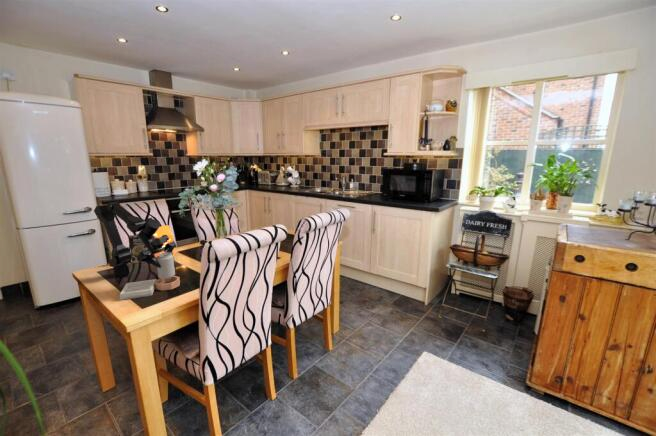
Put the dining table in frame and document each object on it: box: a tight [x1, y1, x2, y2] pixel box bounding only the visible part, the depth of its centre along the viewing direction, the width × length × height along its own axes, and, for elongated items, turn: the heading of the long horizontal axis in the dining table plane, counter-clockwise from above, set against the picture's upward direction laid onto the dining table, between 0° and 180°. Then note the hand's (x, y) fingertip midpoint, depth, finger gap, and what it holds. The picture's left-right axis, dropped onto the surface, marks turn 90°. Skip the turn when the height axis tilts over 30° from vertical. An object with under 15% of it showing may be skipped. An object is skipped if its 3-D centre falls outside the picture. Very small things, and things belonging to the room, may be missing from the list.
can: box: [155, 252, 176, 279], centre depth 150 cm, size 8×8×12 cm
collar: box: [155, 275, 181, 291], centre depth 152 cm, size 10×10×3 cm
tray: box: [119, 278, 157, 301], centre depth 145 cm, size 13×13×3 cm
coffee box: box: [128, 234, 148, 264], centre depth 186 cm, size 9×6×16 cm
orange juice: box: [153, 224, 175, 258], centre depth 193 cm, size 8×9×20 cm
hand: (167, 264), depth 150 cm, fingers closed on can, 7 cm apart
